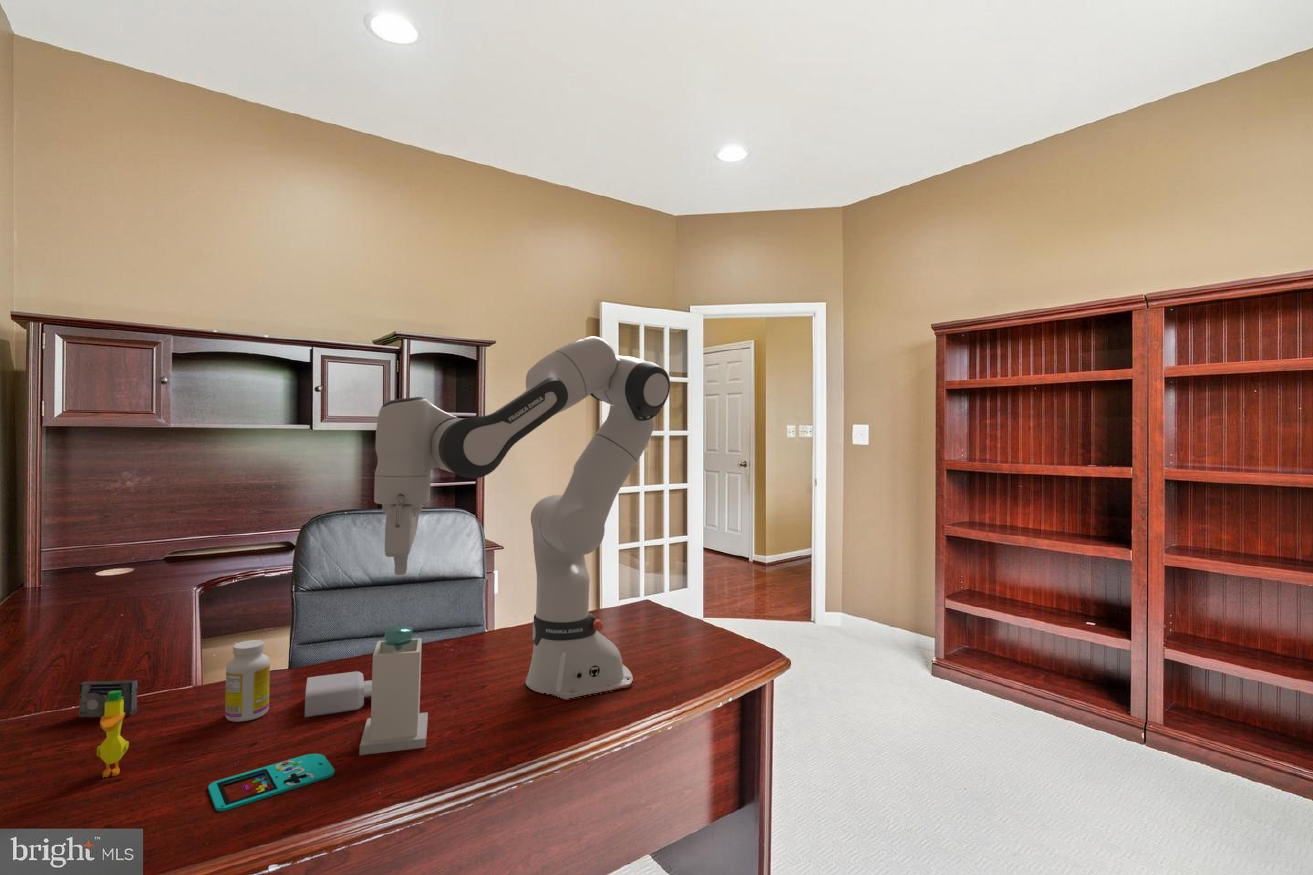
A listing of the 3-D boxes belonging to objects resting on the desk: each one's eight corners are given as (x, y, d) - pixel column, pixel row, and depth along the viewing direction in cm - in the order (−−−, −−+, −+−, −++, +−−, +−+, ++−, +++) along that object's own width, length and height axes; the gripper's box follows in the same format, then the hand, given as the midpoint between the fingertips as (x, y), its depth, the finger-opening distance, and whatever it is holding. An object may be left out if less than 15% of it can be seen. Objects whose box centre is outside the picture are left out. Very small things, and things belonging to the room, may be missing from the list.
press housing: (427, 720, 114) (430, 635, 114) (425, 747, 104) (428, 654, 104) (367, 726, 111) (369, 638, 110) (359, 755, 101) (362, 659, 101)
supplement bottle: (269, 704, 118) (271, 636, 118) (267, 718, 112) (270, 647, 112) (226, 710, 115) (228, 640, 115) (222, 726, 109) (224, 652, 109)
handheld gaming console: (336, 770, 95) (217, 808, 85) (336, 777, 95) (217, 816, 85) (320, 748, 101) (207, 782, 91) (320, 755, 101) (206, 789, 91)
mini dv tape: (136, 712, 113) (137, 679, 113) (131, 716, 112) (132, 682, 112) (85, 714, 112) (86, 680, 112) (78, 717, 110) (79, 683, 110)
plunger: (412, 692, 110) (414, 624, 110) (410, 704, 106) (413, 633, 106) (382, 695, 109) (385, 626, 109) (379, 707, 104) (382, 634, 104)
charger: (394, 706, 119) (304, 720, 113) (390, 688, 128) (306, 699, 121) (395, 681, 119) (305, 693, 113) (391, 664, 128) (307, 675, 121)
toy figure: (122, 782, 91) (124, 699, 91) (89, 788, 89) (91, 704, 89) (130, 760, 97) (132, 683, 97) (100, 766, 95) (102, 687, 95)
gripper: (419, 498, 98) (417, 587, 98) (424, 486, 118) (423, 560, 118) (375, 499, 96) (373, 589, 96) (388, 486, 116) (386, 561, 116)
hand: (400, 573), depth 107 cm, fingers closed
